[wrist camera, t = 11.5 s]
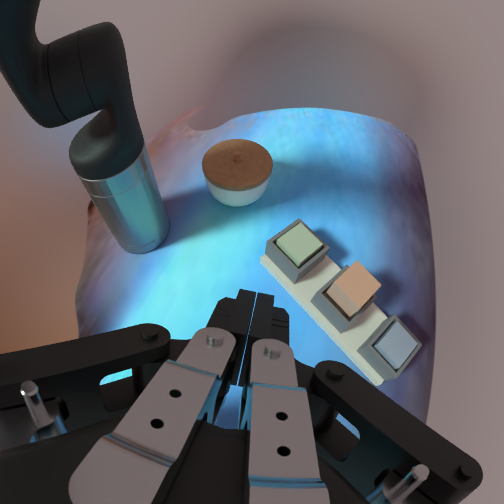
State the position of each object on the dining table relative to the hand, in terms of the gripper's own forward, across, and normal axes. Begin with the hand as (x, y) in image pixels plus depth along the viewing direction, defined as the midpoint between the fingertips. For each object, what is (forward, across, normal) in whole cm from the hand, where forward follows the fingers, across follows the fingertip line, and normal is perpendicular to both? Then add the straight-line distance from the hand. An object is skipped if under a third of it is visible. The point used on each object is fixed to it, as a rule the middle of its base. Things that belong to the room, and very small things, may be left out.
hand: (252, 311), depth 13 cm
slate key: (+21, -19, +14) cm, 32 cm away
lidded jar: (+39, +7, 0) cm, 40 cm away
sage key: (+30, -4, +5) cm, 30 cm away
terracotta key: (+23, -11, +8) cm, 27 cm away
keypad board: (+27, -12, +11) cm, 31 cm away
